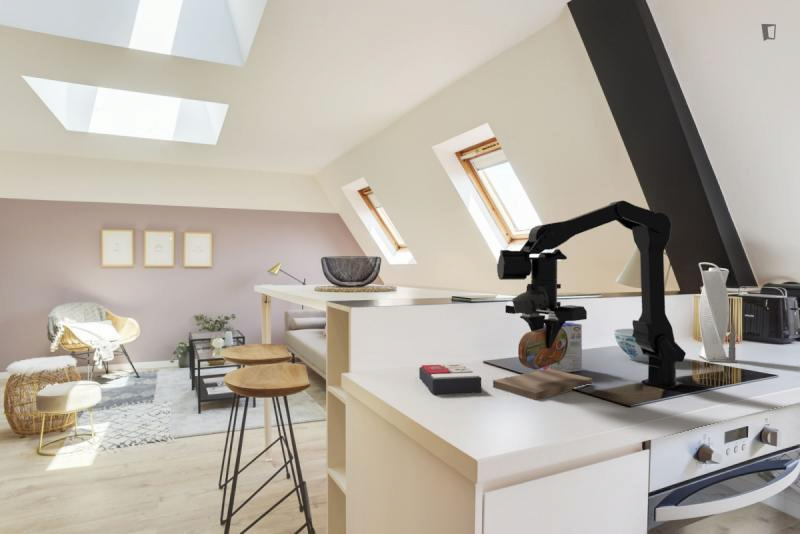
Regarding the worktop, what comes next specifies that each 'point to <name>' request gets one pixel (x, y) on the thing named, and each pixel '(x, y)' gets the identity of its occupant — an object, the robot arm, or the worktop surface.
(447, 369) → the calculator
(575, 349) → the ink cartridge box
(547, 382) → the walnut board
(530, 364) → the tin
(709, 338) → the skyscraper
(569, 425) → the worktop surface
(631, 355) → the chinaware
